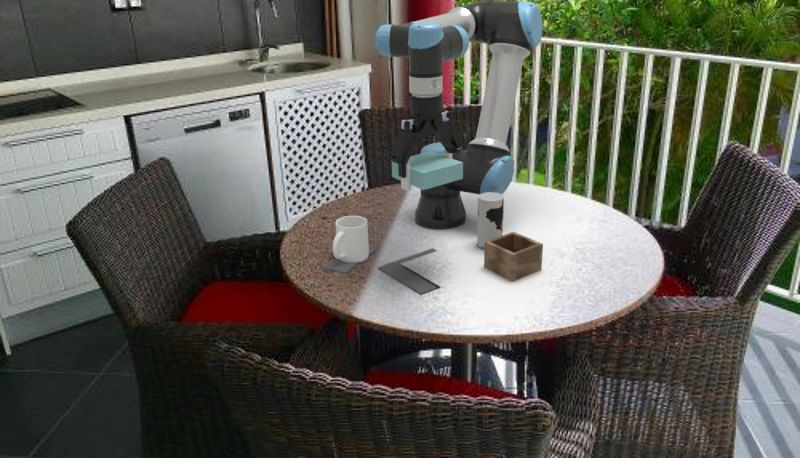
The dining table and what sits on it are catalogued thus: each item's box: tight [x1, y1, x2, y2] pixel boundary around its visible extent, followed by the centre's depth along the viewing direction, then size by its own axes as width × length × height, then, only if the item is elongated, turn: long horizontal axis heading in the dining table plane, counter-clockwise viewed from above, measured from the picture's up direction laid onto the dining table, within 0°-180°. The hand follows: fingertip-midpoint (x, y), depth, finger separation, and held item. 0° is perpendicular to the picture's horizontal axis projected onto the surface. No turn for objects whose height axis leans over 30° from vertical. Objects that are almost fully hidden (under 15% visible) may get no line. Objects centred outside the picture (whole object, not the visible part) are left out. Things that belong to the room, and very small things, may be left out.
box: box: [483, 231, 544, 283], centre depth 169 cm, size 10×10×8 cm
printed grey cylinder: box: [476, 192, 505, 251], centre depth 180 cm, size 7×7×15 cm
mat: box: [377, 248, 442, 296], centre depth 172 cm, size 18×18×1 cm
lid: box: [391, 151, 463, 190], centre depth 162 cm, size 12×12×5 cm
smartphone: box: [322, 247, 376, 275], centre depth 179 cm, size 8×1×15 cm
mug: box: [332, 215, 370, 263], centre depth 177 cm, size 12×8×10 cm
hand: (427, 183), depth 163 cm, fingers closed on lid, 12 cm apart
